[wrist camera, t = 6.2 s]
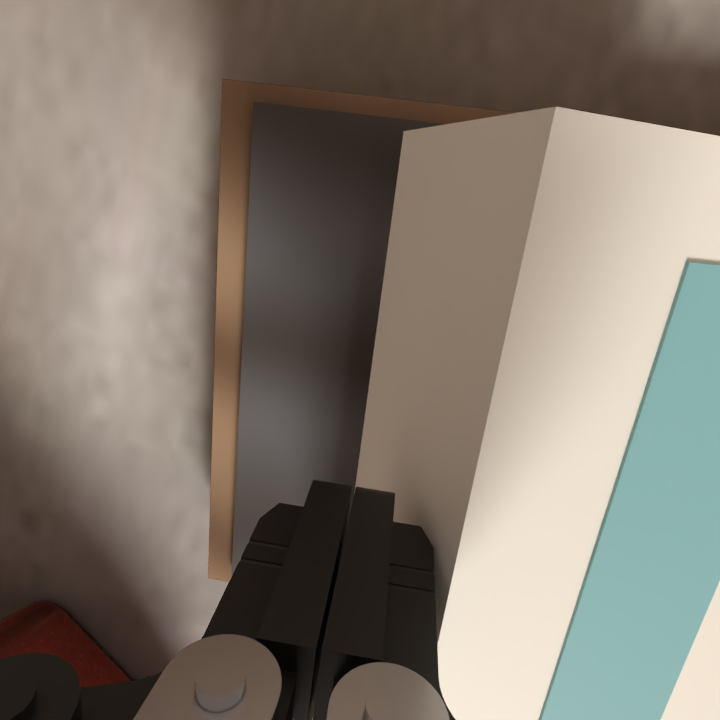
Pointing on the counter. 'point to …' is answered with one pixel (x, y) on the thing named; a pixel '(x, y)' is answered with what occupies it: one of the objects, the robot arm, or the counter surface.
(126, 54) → the counter surface
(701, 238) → the carton
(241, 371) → the wooden serving tray
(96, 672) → the plant pot
